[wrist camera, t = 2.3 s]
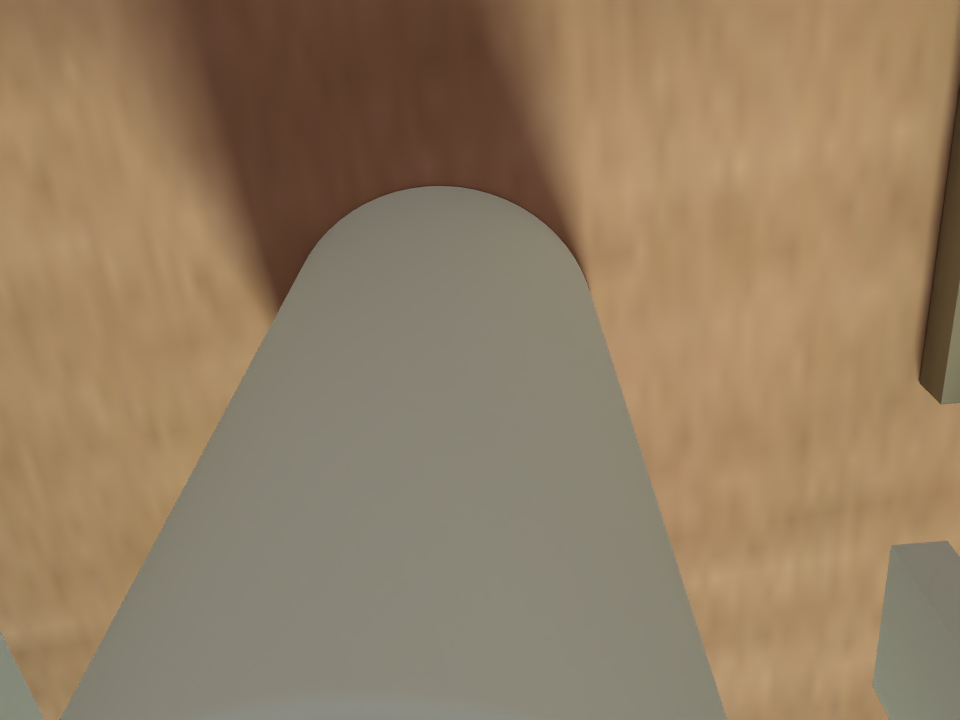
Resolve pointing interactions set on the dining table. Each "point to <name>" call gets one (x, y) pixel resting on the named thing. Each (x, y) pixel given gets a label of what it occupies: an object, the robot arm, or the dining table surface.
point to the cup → (416, 504)
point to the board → (946, 294)
